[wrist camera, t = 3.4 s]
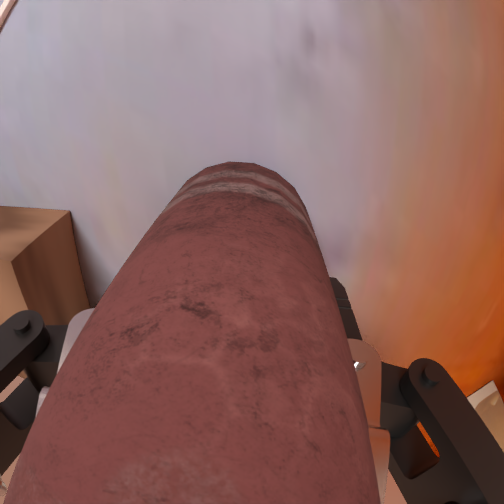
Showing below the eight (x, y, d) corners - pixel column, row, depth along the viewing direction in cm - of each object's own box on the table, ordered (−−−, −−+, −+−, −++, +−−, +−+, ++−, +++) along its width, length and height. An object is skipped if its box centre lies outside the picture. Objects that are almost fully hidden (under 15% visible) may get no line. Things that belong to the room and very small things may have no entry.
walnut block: (69, 210, 13) (10, 261, 9) (101, 343, 18) (75, 399, 14) (-28, 204, 13) (-75, 238, 8) (8, 314, 18) (-21, 354, 13)
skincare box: (494, 394, 23) (523, 470, 12) (466, 413, 25) (491, 490, 14) (493, 377, 21) (529, 465, 10) (461, 399, 22) (491, 490, 12)
